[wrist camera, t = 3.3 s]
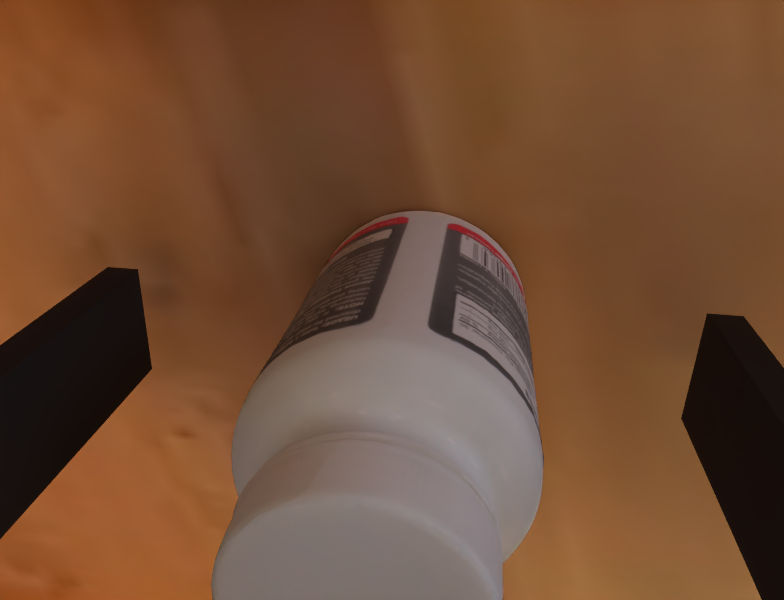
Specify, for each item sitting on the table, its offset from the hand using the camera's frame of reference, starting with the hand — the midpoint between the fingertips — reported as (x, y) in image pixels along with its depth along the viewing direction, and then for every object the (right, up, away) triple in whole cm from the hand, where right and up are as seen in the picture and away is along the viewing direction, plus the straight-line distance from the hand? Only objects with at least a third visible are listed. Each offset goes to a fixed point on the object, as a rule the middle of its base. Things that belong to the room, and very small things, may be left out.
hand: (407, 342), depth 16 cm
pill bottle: (0, +1, +2) cm, 2 cm away
